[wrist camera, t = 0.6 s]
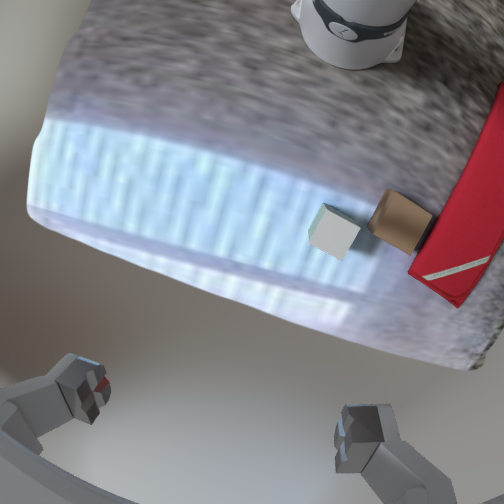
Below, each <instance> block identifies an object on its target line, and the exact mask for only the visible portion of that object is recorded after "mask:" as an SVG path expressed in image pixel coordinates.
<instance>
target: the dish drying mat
mask: <svg viewBox="0 0 504 504" xmlns="http://www.w3.org/2000/svg"><path fill="white" fill-rule="evenodd" d="M503 238H504V83H502V82H501V83H500V86H499V88H498V91H497V94H496V97H495V100H494V103H493V105H492V108H491V110H490V112H489V115H488V117H487V119H486V122H485V124H484V126H483V129H482V131H481V133H480V136H479V138H478V141H477V143H476V145H475V147H474V149H473V151H472V154H471V156H470V158H469V160H468V162H467V164H466V166H465V168H464V170H463V172H462V175H461V176H460V178H459V180H458V182H457V184H456V185H455V187H454V189H453V191H452V193H451V195H450V197H449V199H448V201H447V202H446V204H445V206H444V208H443V210H442V211H441V213H440V215H439V217H438V219H437V221H436V223H435V224H434V226H433V228H432V230H431V232H430V233H429V235H428V237H427V239H426V241H425V242H424V244H423V246H422V247H421V249H420V251H419V252H418V254H417V256H416V257H415V259H414V261H413V263H412V265H411V267H410V269H409V271H408V274H409V275H411V276H412V277H414V278H415V279H417V280H419V281H420V282H422V283H423V284H425V285H426V286H428V287H429V288H430V289H432V290H433V291H435V292H436V293H438V294H439V295H441V296H442V297H444V298H445V299H446V300H448V301H449V302H450V303H451V304H453V305H454V306H455V307H456V308H459V307H460V305H461V304H462V303H463V302H464V300H465V299H466V298H467V296H468V295H469V293H470V292H471V290H472V289H473V288H474V286H475V285H476V284H477V282H478V281H479V279H480V278H481V276H482V275H483V273H484V271H485V270H486V268H487V266H488V265H489V263H490V261H491V259H492V258H493V256H494V254H495V252H496V251H497V249H498V247H499V246H500V244H501V242H502V240H503Z"/></svg>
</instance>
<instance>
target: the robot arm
mask: <svg viewBox="0 0 504 504" xmlns="http://www.w3.org/2000/svg"><path fill="white" fill-rule="evenodd" d="M416 1H417V0H297V1H296V2H295V3H294V4H293V5H292V6H291V13H292V15H293V16H294V18H295V19H296V20H297V21H298V22H299V24H300V27H301V31H302V35H303V38H304V40H305V42H306V44H307V45H308V47H309V48H310V49H311V50H312V51H313V52H314V53H315V54H316V55H317V56H318V57H319V58H321V59H322V60H324V61H325V62H327V63H329V64H331V65H334V66H337V67H340V68H344V69H351V70H360V69H366V68H370V67H372V66H374V65H377V64H379V63H396V62H398V61H399V60H400V59H401V56H402V50H403V44H404V37H405V30H406V23H407V16H408V14H409V10H410V8H411V7H412V5H413V4H414V3H415V2H416ZM395 50H397V51H395ZM105 374H106V370H105V367H104V366H103V365H101V364H99V363H96V362H93V361H91V360H88V359H85V358H82V357H79V356H77V355H74V354H72V353H70V354H66V355H65V356H64V357H63V359H61V360H60V362H58V364H56V365H55V366H54V367H53V368H52V369H51V370H50V371H49V373H47V374H46V376H39V377H35V378H32V379H29V380H26V381H23V382H20V383H17V384H13V385H10V386H7V387H4V388H0V504H138V503H135V502H133V501H130V500H127V499H125V498H122V497H120V496H117V495H115V494H112V493H110V492H108V491H106V490H103V489H101V488H99V487H97V486H94V485H92V484H90V483H88V482H86V481H84V480H82V479H80V478H78V477H76V476H74V475H72V474H70V473H69V472H67V471H65V470H63V469H61V468H60V467H58V466H56V465H54V464H52V463H51V462H49V461H47V460H46V459H44V458H42V457H41V456H39V455H40V453H41V452H42V451H43V447H42V445H41V444H40V443H39V441H38V439H37V438H38V437H40V436H42V435H44V434H45V433H47V432H49V431H51V430H53V429H55V428H57V427H59V426H61V425H62V424H64V423H66V422H68V421H70V420H72V419H73V418H76V419H78V420H81V421H83V422H85V423H88V424H90V425H92V424H93V422H94V421H95V419H96V418H97V416H98V415H99V413H100V410H99V407H102V406H104V405H106V403H107V402H108V400H109V398H110V394H111V386H110V383H109V381H108V380H107V379H106V378H105ZM341 413H342V419H340V420H339V421H338V423H337V425H336V429H335V435H334V446H335V448H336V449H337V450H338V452H337V454H336V456H335V467H336V473H361V475H362V476H363V477H364V479H365V480H366V482H367V483H368V484H369V485H370V487H371V488H372V489H373V491H374V492H375V493H376V494H377V496H378V497H379V498H380V500H381V501H382V502H383V503H384V504H457V501H456V497H455V493H454V490H453V486H452V482H451V479H449V478H448V477H447V476H446V475H445V474H443V473H442V472H441V471H440V470H438V469H437V468H436V467H435V466H434V465H433V464H432V463H430V462H429V461H428V460H427V459H426V458H425V457H423V456H422V455H421V454H420V453H419V452H418V451H416V450H415V449H414V448H413V447H412V446H410V445H409V444H408V443H407V442H406V441H401V438H400V434H399V431H398V427H397V424H396V420H395V416H394V413H393V409H392V406H391V405H390V404H375V405H374V404H367V405H366V404H359V405H349V404H348V405H345V406H344V407H343V409H342V412H341ZM481 504H504V494H503V495H500V496H498V497H495V498H493V499H491V500H488V501H486V502H483V503H481Z"/></svg>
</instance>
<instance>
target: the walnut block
mask: <svg viewBox="0 0 504 504" xmlns="http://www.w3.org/2000/svg"><path fill="white" fill-rule="evenodd" d="M431 217H432V215H431V214H429V213H428V212H426V211H425V210H423V209H422V208H420V207H419V206H417V205H416V204H414V203H413V202H411V201H410V200H408V199H407V198H405V197H403V196H402V195H400V194H399V193H397V192H395V191H392V190H390V189H388V188H387V189H386V191H385V193H384V195H383V196H382V198H381V200H380V202H379V204H378V206H377V208H376V210H375V212H374V214H373V216H372V217H371V219H370V221H369V223H368V225H367V228H368V229H369V230H370V231H371V232H372V233H373V234H374V235H375V236H377V237H379V238H381V239H382V240H384V241H386V242H388V243H389V244H391V245H393V246H395V247H396V248H398V249H400V250H401V251H403V252H405V253H406V254H408V255H411V254H412V252H413V250H414V248H415V247H416V245H417V243H418V241H419V240H420V238H421V236H422V234H423V232H424V231H425V229H426V227H427V225H428V223H429V221H430V219H431Z"/></svg>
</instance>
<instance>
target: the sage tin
mask: <svg viewBox="0 0 504 504" xmlns="http://www.w3.org/2000/svg"><path fill="white" fill-rule="evenodd" d="M359 230H360V227H359V226H357V225H356V223H355V222H354V221H353V220H352V219H351V218H350V217H349V216H347V215H345V214H343V213H341V212H340V211H338V210H336V209H334V208H332V207H330V206H328V205H327V204H325V203H322V205H321V207H320V209H319V211H318V213H317V215H316V216H315V218H314V220H313V222H312V224H311V226H310V228H309V230H308V234H309V240H310V241H309V244H310V245H312V246H314V247H316V248H318V249H320V250H322V251H324V252H326V253H328V254H330V255H332V256H334V257H336V258H338V259H339V260H341V261H342V260H343V258H344V256H345V255H346V253H347V251H348V249H349V248H350V246H351V244H352V243H353V241H354V239H355V237H356V236H357V234H358V232H359Z"/></svg>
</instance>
